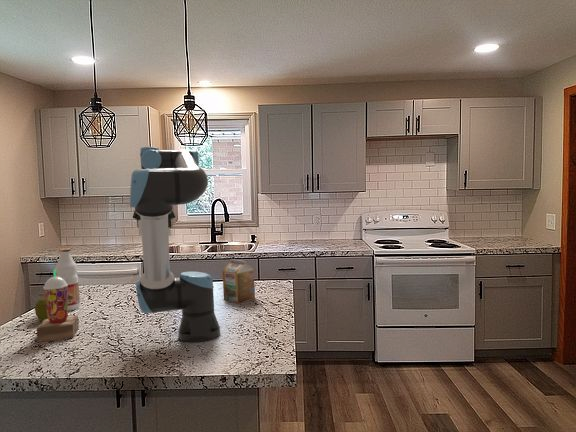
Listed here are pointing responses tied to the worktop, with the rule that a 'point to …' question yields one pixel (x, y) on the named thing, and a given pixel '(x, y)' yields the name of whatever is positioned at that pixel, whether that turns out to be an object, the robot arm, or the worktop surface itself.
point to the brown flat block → (57, 329)
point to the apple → (41, 309)
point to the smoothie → (56, 299)
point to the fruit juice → (69, 277)
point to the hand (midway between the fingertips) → (154, 235)
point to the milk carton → (238, 282)
